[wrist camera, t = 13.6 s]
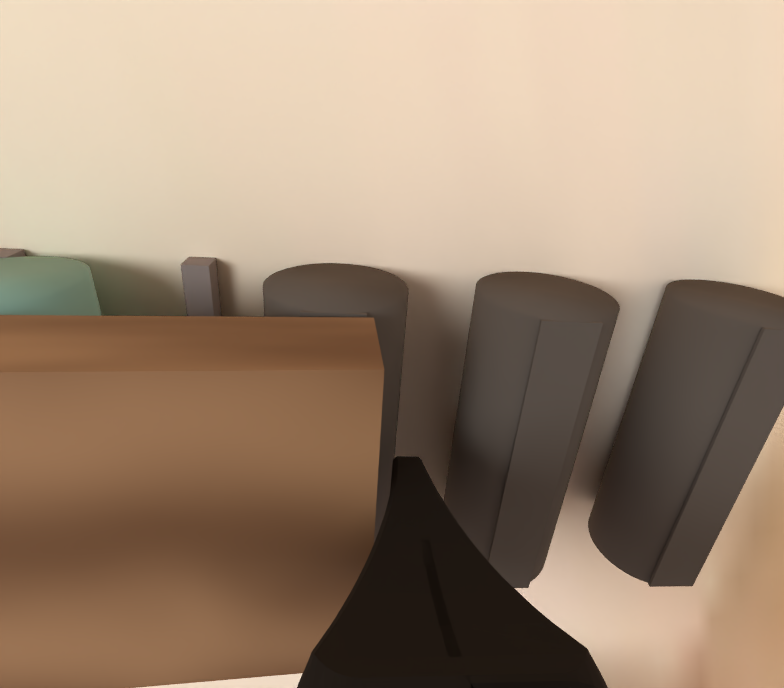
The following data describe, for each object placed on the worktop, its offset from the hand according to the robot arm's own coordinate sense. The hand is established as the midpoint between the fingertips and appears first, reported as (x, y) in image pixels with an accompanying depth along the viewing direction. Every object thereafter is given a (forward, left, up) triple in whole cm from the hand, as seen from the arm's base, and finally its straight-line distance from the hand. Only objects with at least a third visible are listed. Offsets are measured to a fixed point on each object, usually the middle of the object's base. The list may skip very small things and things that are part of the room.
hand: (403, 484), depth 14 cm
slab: (0, +8, 0) cm, 8 cm away
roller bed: (0, 0, -4) cm, 4 cm away
